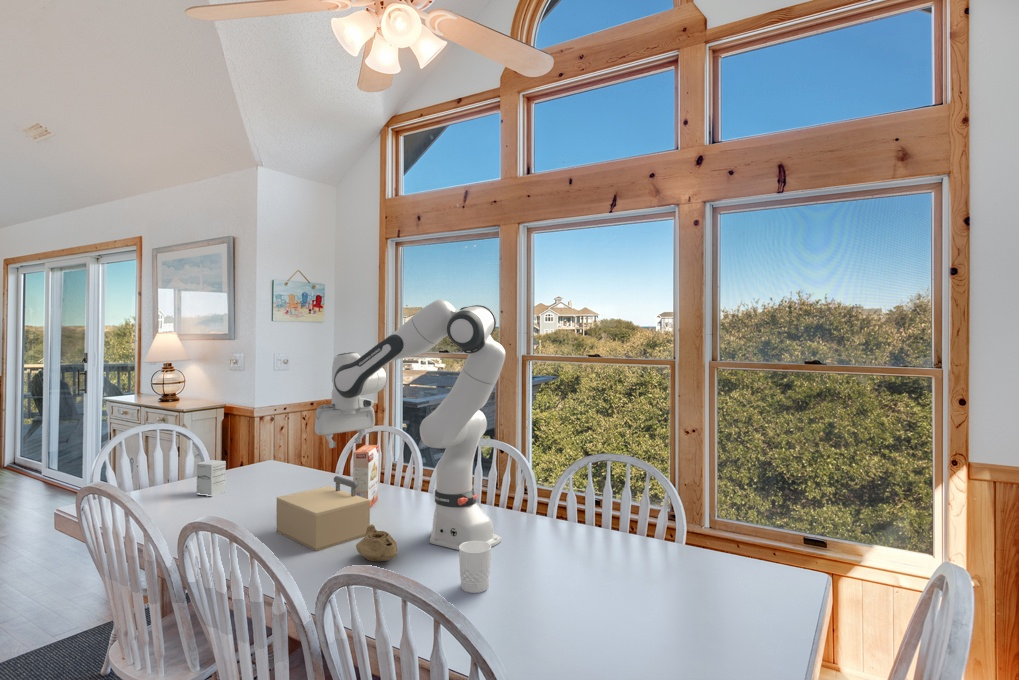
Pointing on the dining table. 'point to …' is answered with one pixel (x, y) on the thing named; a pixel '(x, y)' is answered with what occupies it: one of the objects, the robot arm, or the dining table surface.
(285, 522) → the carton
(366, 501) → the carton lid
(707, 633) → the dining table surface
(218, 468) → the supplement box
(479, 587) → the white cup
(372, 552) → the oil lamp
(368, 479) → the cracker box
